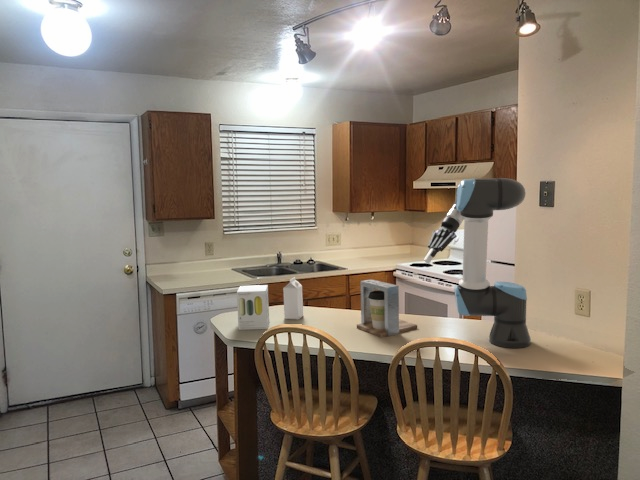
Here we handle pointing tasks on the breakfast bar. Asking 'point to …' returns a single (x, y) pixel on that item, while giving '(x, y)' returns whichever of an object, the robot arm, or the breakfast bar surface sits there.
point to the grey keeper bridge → (390, 304)
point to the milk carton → (293, 300)
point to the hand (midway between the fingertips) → (426, 261)
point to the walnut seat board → (381, 332)
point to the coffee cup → (377, 309)
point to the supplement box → (253, 307)
